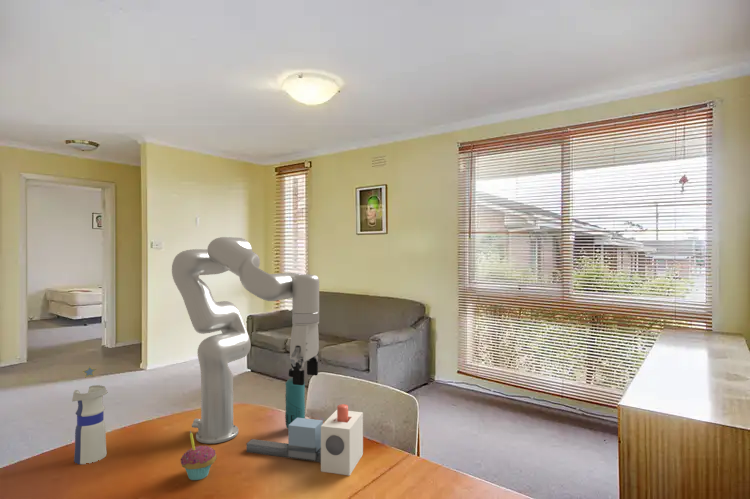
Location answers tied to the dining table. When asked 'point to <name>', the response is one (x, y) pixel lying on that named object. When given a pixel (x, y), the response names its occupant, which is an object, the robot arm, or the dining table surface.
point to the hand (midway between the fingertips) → (305, 379)
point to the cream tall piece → (90, 424)
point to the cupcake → (198, 460)
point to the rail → (274, 449)
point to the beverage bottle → (294, 400)
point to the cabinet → (341, 443)
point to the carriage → (304, 438)
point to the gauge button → (342, 413)
